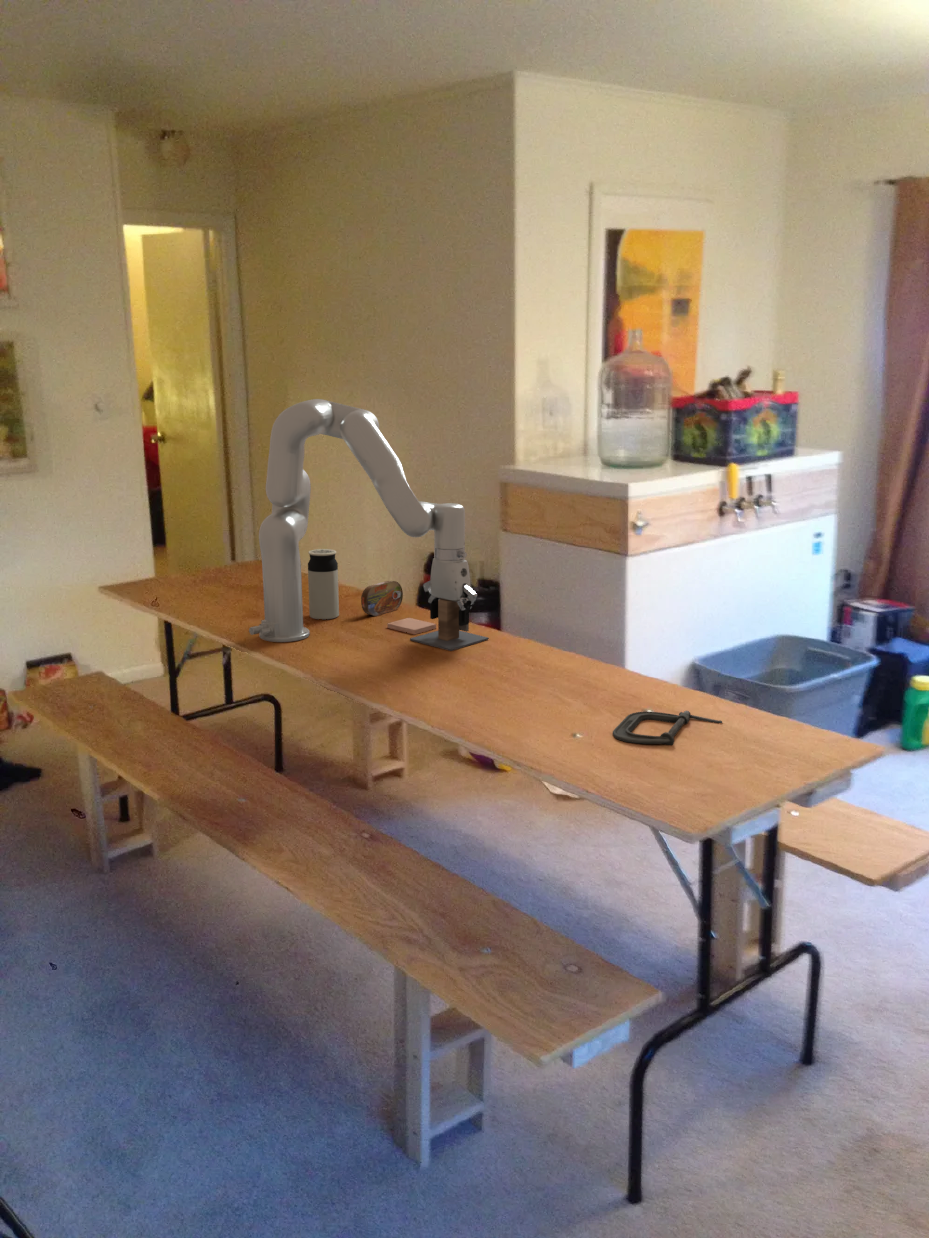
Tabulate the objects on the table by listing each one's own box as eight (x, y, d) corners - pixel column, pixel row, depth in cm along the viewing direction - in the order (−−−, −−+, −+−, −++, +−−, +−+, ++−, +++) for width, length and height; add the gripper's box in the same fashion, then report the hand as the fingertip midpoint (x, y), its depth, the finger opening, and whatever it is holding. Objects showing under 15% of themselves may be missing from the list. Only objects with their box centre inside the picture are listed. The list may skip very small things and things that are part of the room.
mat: (450, 650, 259) (450, 649, 259) (410, 640, 268) (410, 638, 268) (488, 639, 269) (488, 637, 269) (448, 629, 278) (448, 627, 278)
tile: (414, 630, 273) (436, 624, 279) (387, 623, 279) (408, 617, 285) (414, 636, 273) (436, 630, 279) (387, 629, 280) (408, 623, 286)
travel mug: (336, 620, 287) (335, 554, 282) (307, 620, 287) (305, 554, 282) (340, 613, 294) (339, 548, 290) (312, 612, 295) (309, 548, 290)
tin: (367, 618, 289) (367, 588, 287) (359, 617, 291) (358, 586, 289) (404, 608, 300) (403, 579, 298) (395, 606, 302) (395, 577, 300)
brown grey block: (454, 642, 264) (454, 603, 261) (431, 636, 269) (431, 598, 267) (468, 638, 268) (468, 599, 265) (445, 632, 273) (445, 594, 270)
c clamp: (640, 710, 220) (640, 697, 219) (722, 725, 211) (723, 712, 210) (600, 740, 203) (601, 727, 202) (688, 758, 194) (689, 744, 193)
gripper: (486, 556, 260) (485, 624, 264) (434, 547, 271) (434, 612, 275) (465, 561, 255) (465, 630, 259) (413, 551, 266) (414, 618, 270)
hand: (449, 621), depth 267 cm, fingers open, 9 cm apart
